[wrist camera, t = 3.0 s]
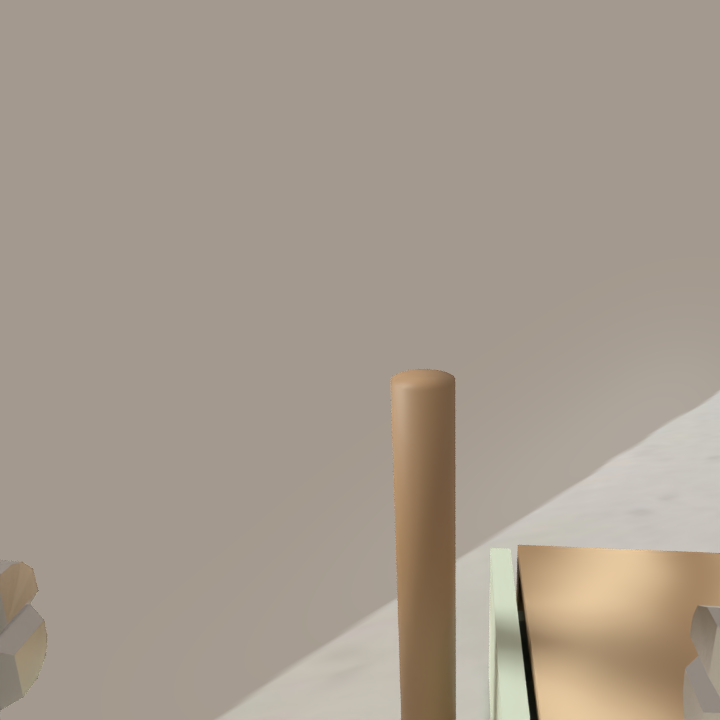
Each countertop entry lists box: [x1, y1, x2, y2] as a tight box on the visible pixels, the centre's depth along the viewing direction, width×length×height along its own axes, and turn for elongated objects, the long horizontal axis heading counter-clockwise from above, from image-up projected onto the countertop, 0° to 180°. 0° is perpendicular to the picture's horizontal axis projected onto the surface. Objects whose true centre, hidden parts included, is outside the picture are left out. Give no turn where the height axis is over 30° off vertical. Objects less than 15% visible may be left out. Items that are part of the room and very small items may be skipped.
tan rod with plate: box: [391, 369, 538, 720], centre depth 23 cm, size 15×10×16 cm, turn 82°
